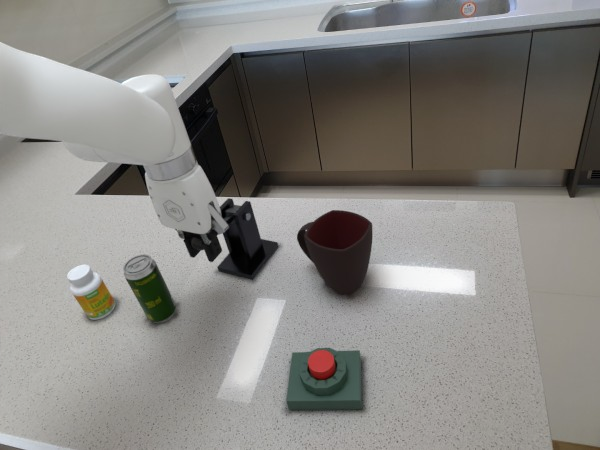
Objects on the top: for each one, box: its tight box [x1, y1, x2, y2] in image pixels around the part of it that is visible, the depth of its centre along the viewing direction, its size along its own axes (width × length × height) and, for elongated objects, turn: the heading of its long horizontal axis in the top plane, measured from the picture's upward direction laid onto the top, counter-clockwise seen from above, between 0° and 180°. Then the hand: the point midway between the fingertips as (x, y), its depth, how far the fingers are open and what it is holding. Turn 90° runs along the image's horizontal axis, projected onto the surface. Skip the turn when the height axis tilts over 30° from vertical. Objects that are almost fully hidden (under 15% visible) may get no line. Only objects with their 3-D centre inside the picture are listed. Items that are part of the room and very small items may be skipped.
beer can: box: [122, 253, 177, 324], centre depth 79 cm, size 5×5×12 cm
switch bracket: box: [217, 197, 279, 281], centre depth 87 cm, size 10×8×13 cm
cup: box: [296, 209, 374, 296], centre depth 79 cm, size 10×14×12 cm
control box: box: [285, 347, 363, 411], centre depth 64 cm, size 10×8×4 cm
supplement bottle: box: [66, 264, 116, 321], centre depth 84 cm, size 5×5×10 cm
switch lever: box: [191, 204, 242, 251], centre depth 81 cm, size 13×3×3 cm, turn 153°
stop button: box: [308, 350, 336, 380], centre depth 63 cm, size 4×4×2 cm
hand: (206, 253), depth 79 cm, fingers closed on switch lever, 3 cm apart
